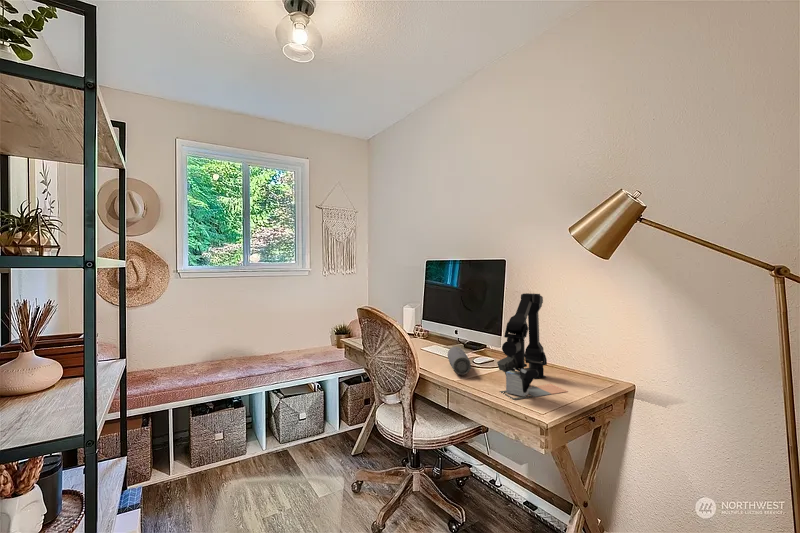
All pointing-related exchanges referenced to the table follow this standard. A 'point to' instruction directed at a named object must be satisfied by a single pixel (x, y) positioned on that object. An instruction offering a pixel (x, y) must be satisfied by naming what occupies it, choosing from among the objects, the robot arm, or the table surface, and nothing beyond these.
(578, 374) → the table surface
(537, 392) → the game mat
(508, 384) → the medicine box
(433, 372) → the table surface
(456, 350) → the bluetooth speaker
